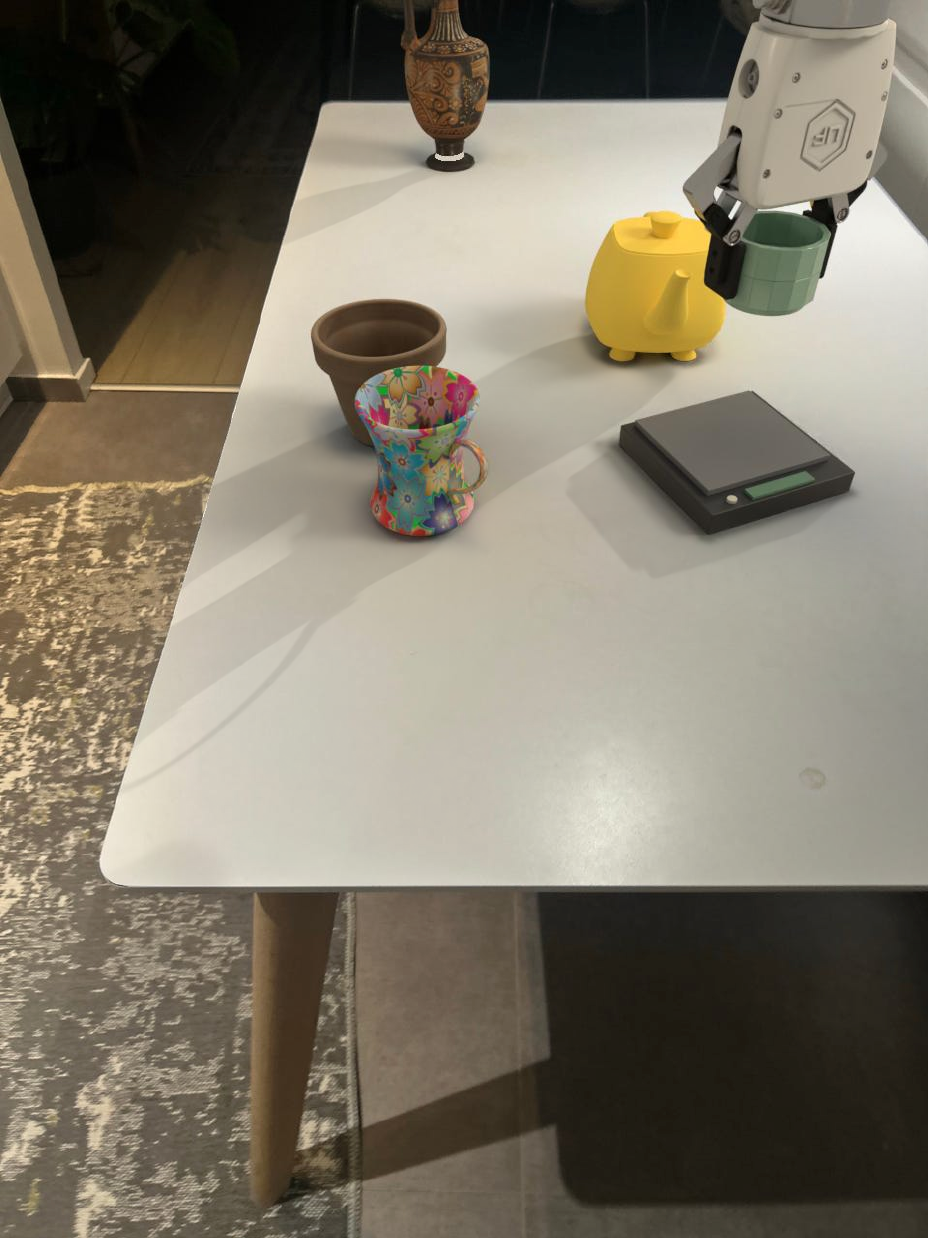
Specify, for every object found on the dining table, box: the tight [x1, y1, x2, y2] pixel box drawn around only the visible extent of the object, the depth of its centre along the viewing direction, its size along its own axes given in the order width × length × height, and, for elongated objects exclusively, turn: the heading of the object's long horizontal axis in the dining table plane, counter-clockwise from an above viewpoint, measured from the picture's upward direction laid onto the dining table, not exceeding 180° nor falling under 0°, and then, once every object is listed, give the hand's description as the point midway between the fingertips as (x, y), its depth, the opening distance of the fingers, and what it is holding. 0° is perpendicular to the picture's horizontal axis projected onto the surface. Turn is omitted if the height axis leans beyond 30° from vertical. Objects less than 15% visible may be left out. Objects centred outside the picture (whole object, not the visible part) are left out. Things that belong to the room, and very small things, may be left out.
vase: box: [400, 0, 491, 172], centre depth 123 cm, size 12×12×30 cm
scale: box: [618, 390, 856, 535], centre depth 79 cm, size 14×14×3 cm
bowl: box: [723, 210, 831, 317], centre depth 67 cm, size 7×7×5 cm
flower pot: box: [310, 298, 448, 447], centre depth 81 cm, size 12×11×10 cm
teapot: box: [584, 210, 727, 362], centre depth 90 cm, size 14×20×13 cm
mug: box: [355, 366, 489, 537], centre depth 71 cm, size 12×9×11 cm
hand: (763, 279), depth 68 cm, fingers closed on bowl, 7 cm apart
